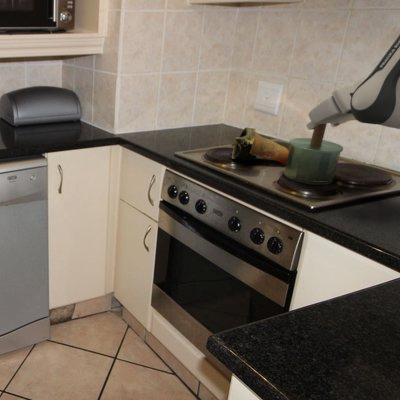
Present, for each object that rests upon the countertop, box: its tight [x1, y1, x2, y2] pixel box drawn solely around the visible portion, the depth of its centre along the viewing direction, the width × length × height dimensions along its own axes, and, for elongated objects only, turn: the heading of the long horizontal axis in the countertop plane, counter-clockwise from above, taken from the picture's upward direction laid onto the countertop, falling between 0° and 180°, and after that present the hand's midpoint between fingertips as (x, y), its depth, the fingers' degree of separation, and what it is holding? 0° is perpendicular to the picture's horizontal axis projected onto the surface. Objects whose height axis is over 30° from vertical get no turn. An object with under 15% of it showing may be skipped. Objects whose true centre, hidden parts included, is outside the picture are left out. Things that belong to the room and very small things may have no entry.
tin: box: [283, 144, 342, 186], centre depth 138 cm, size 13×13×10 cm
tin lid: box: [288, 123, 344, 153], centre depth 135 cm, size 14×14×8 cm
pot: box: [230, 126, 289, 165], centre depth 151 cm, size 17×11×18 cm
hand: (321, 126), depth 134 cm, fingers open, 8 cm apart
